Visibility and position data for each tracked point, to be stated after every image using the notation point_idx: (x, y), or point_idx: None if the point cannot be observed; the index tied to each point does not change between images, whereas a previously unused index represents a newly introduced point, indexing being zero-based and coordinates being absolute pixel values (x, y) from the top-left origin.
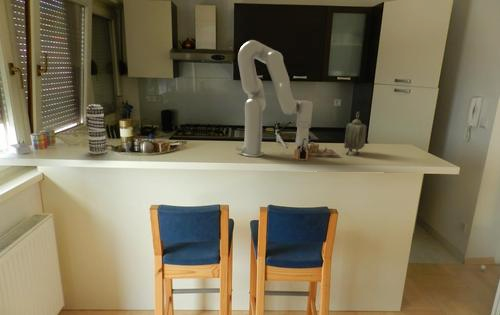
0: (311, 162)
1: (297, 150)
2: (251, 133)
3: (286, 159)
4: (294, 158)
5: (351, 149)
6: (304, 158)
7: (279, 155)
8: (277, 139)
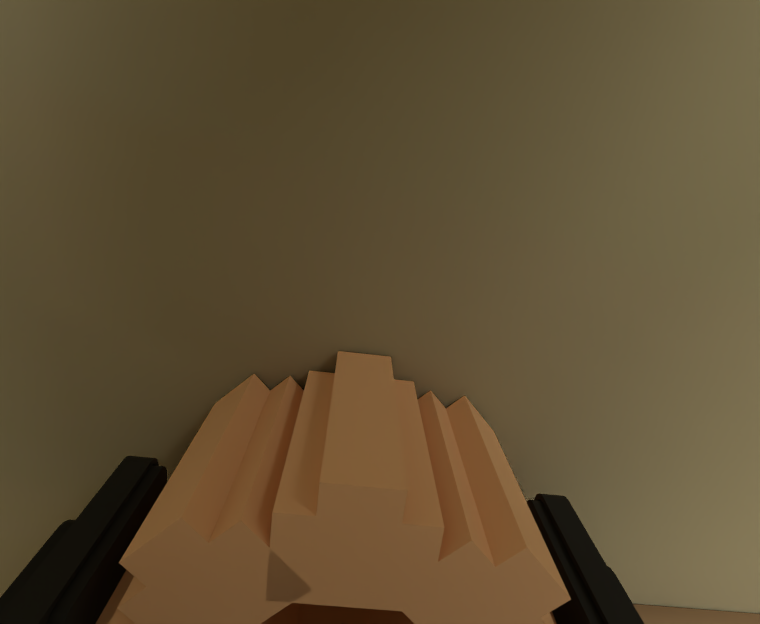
0: None
1: (312, 575)
2: None
3: (259, 107)
4: (337, 357)
5: None
6: None
7: (749, 15)
8: None
